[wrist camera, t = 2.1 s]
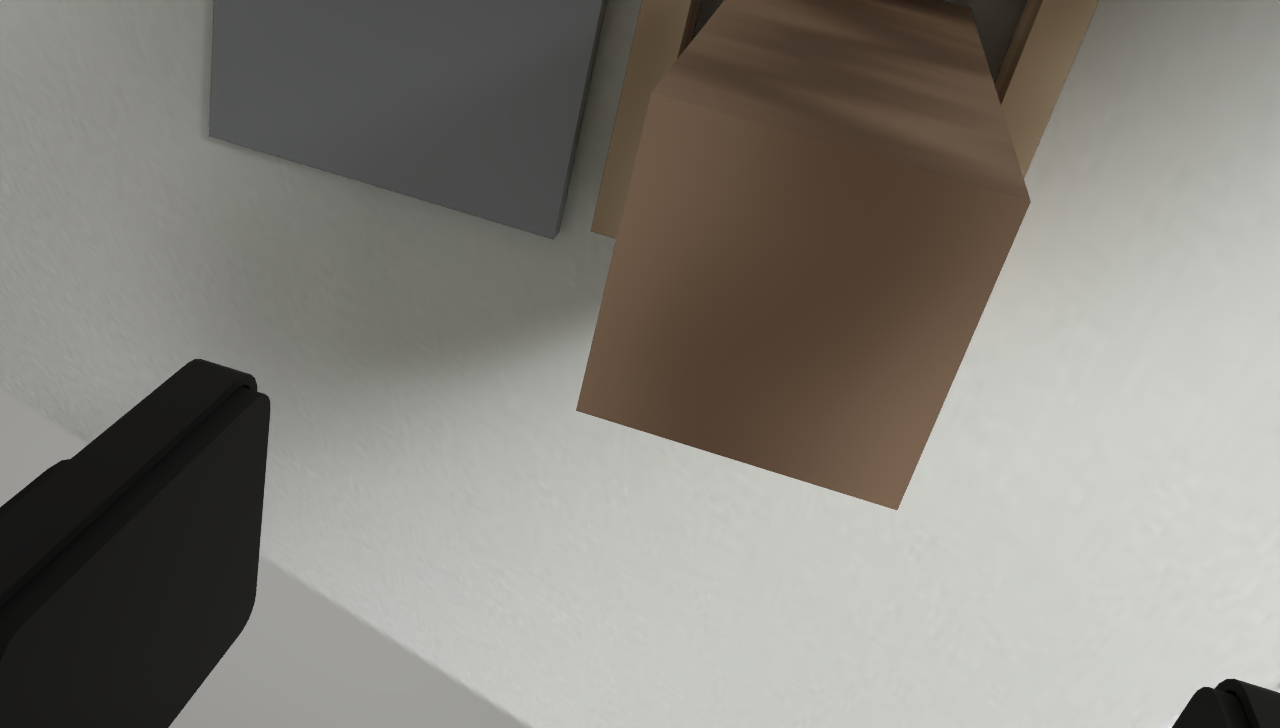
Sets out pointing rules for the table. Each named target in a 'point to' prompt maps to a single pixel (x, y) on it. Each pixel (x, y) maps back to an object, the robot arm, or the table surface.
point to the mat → (414, 95)
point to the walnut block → (809, 239)
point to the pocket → (1022, 84)
